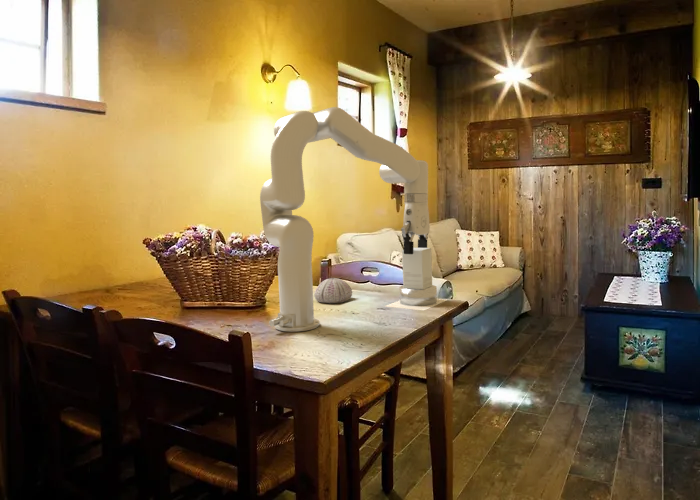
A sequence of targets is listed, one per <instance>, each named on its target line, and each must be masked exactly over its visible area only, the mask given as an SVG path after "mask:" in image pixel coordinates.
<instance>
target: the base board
mask: <svg viewBox="0 0 700 500" xmlns="http://www.w3.org/2000/svg"><path fill="white" fill-rule="evenodd" d="M446 301H448V298H447V299H444V298H437V303H436V304H434V305H429V306H407V305H403V304H400V299H399V300H398V301H397V300H396V301H395V302H392V303H390V304H386V305H384V307H387V308H396V309H403V310H405V309H406V310H412V311H413V310H415V311H426V310H428V309H431V308H433V307H436V306H438V305H439V304H440V305H441V304H443V303H444V302H446Z"/></svg>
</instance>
